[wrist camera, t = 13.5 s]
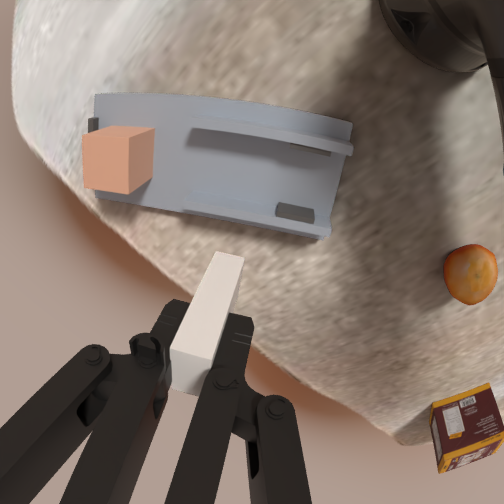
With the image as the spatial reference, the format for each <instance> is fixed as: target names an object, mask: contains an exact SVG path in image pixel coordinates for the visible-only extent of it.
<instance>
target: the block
mask: <svg viewBox="0 0 504 504" xmlns="http://www.w3.org/2000/svg"><path fill="white" fill-rule="evenodd" d="M154 137H155V128H147V127H132V126H109V127H106V128H102V129H99V130H96V131H93V132H90V133H87V134H85V135H82V155H83V177H84V188H88V189H95V190H102V191H109V192H115V193H122V194H128V195H129V194H130V193H131V192H133V191H134V190H135V189H137V188H138V187H140V186H141V185H142V184H144V183H145V182H147V181H148V180H149V179H151V178H152V177H153V157H154Z"/></svg>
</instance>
